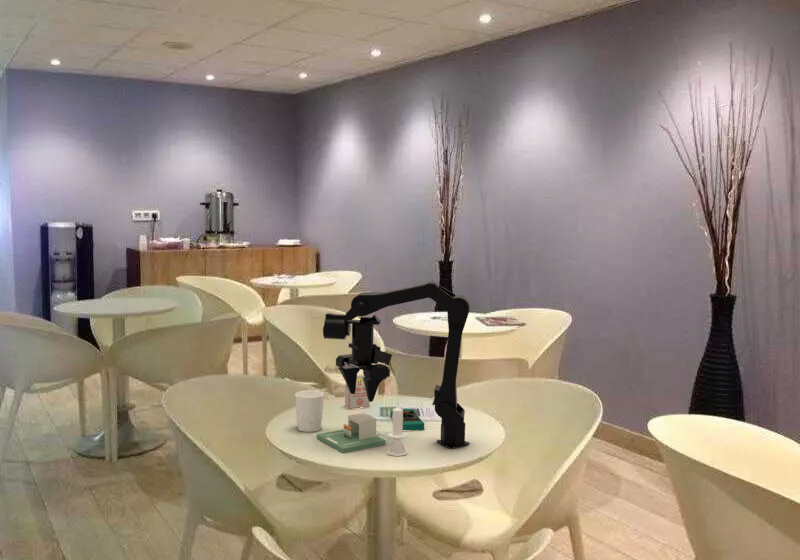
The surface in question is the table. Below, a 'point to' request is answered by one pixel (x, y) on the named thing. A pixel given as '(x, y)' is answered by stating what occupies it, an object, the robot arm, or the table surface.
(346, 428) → the pins
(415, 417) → the digital multimeter
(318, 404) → the white cup
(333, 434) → the header board
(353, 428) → the block
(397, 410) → the candle
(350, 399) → the tea bag
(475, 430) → the table surface
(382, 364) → the robot arm
